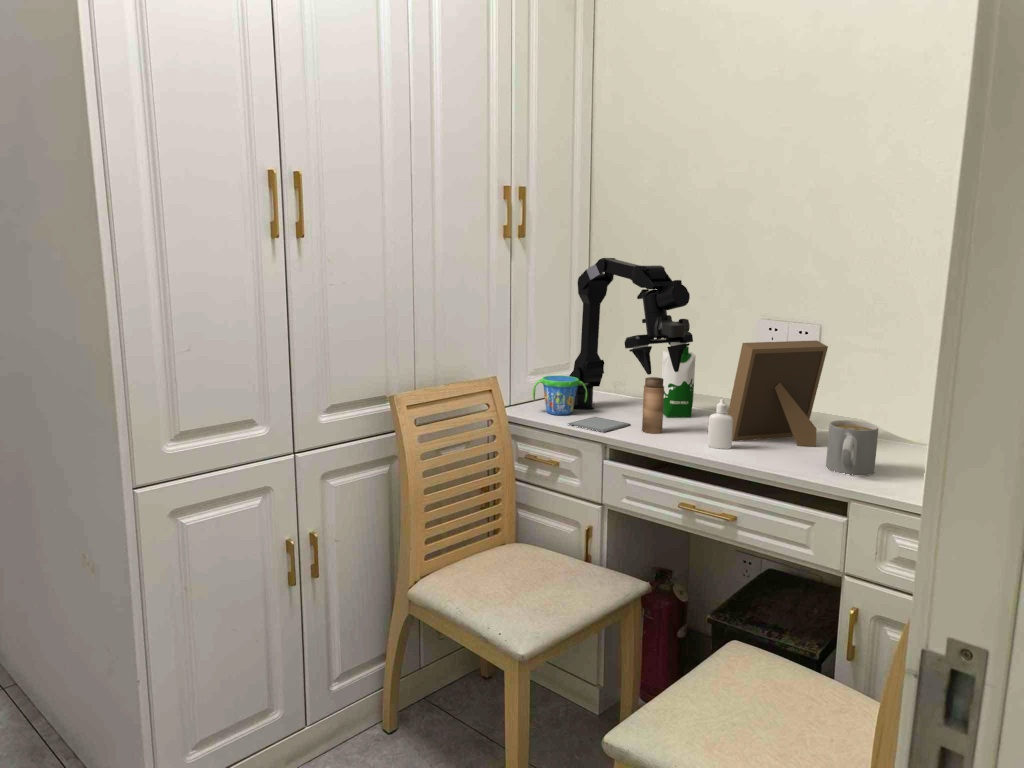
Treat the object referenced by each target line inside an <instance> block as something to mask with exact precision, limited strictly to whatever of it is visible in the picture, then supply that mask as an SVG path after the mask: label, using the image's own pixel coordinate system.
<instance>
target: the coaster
mask: <svg viewBox="0 0 1024 768" xmlns="http://www.w3.org/2000/svg"><path fill="white" fill-rule="evenodd" d="M568 424H569V425H574V426H578V427H577V428H579V427H583V428H587V429H586V430H588V429H593V430H597V431H601V432H600V433H602V432H605V433H608V432H607V431H609V432H611V431H610V430H612V431H616V430H618V428H620V429H623V428H626V427H630V426H631V423H630V422H624V421H619V420H614V419H609V418H604V417H599V416H592V417H591V416H590V417H588V418H584V419H580V420H575V421H572V422H567V425H568ZM569 425H568V426H569ZM574 426H573V427H574ZM583 428H582V429H583ZM615 429H616V430H615ZM593 430H592V431H593ZM597 431H596V432H597Z"/></svg>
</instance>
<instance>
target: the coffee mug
mask: <svg viewBox="0 0 1024 768" xmlns="http://www.w3.org/2000/svg"><path fill="white" fill-rule="evenodd" d="M878 436H879V426H878V425H875V424H873V423H870V422H866V421H859V420H847V419H846V420H845V419H841V420H839V419H838V420H832V421H829V425H828V437H827V438H828V439H827V449H826V461H825V468H826V467H827V468H828V469H830V470H829V471H831V470H832V471H831V472H833V471H835V472H834V473H836V472H839V473H838V474H840V473H845V474H844V475H846V474H853V475H852V476H855V475H865V476H869V475H868V474H871V475H873V474H874V473H875V468H876V460H877V458H876V457H877V449H878V448H877V446H878ZM827 468H826V469H827ZM828 469H827V470H828ZM872 473H873V474H872Z"/></svg>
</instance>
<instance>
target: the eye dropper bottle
mask: <svg viewBox="0 0 1024 768" xmlns="http://www.w3.org/2000/svg"><path fill="white" fill-rule="evenodd" d="M715 410H716V412H714V413H712V414H710V416H709V417H708V418H709V419H708V430H707V431H708V433H707V447H708V448H711V447H712V448H713V449H717V448H720V449H719V450H730V449H731V448H732V443H733V441H732V431H733V417H732V416H731V415H728V404H727V403H725V399H724V398H720V401H719V402H718V403H717V404H716V409H715ZM712 448H711V449H712Z"/></svg>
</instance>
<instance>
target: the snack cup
mask: <svg viewBox="0 0 1024 768" xmlns="http://www.w3.org/2000/svg"><path fill="white" fill-rule="evenodd" d="M540 383H541V384H542V385H543V394H544V404H545V411H546V413H547V414H550V415H553V416H554V415H556V416H561V415H562V416H563V415H566V416H567V415H570V414H572V413H573V410H574V408H573V406H574V401H575V395H576V391H577V388H578V385H579V384H582V385H583V386H584V388H585V390H586V392H585V398H584V402H586V400H587V388H586V386H585V384H584V383H583V382H582V381H580V380H579V379H578V378H576V377H571V376H569V375H545V376H543V377H542V378H541V379H539V380H537V381H535V383H534V385H533V388H532V399H533V401H534V402H536V388H537V385H539V384H540Z"/></svg>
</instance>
